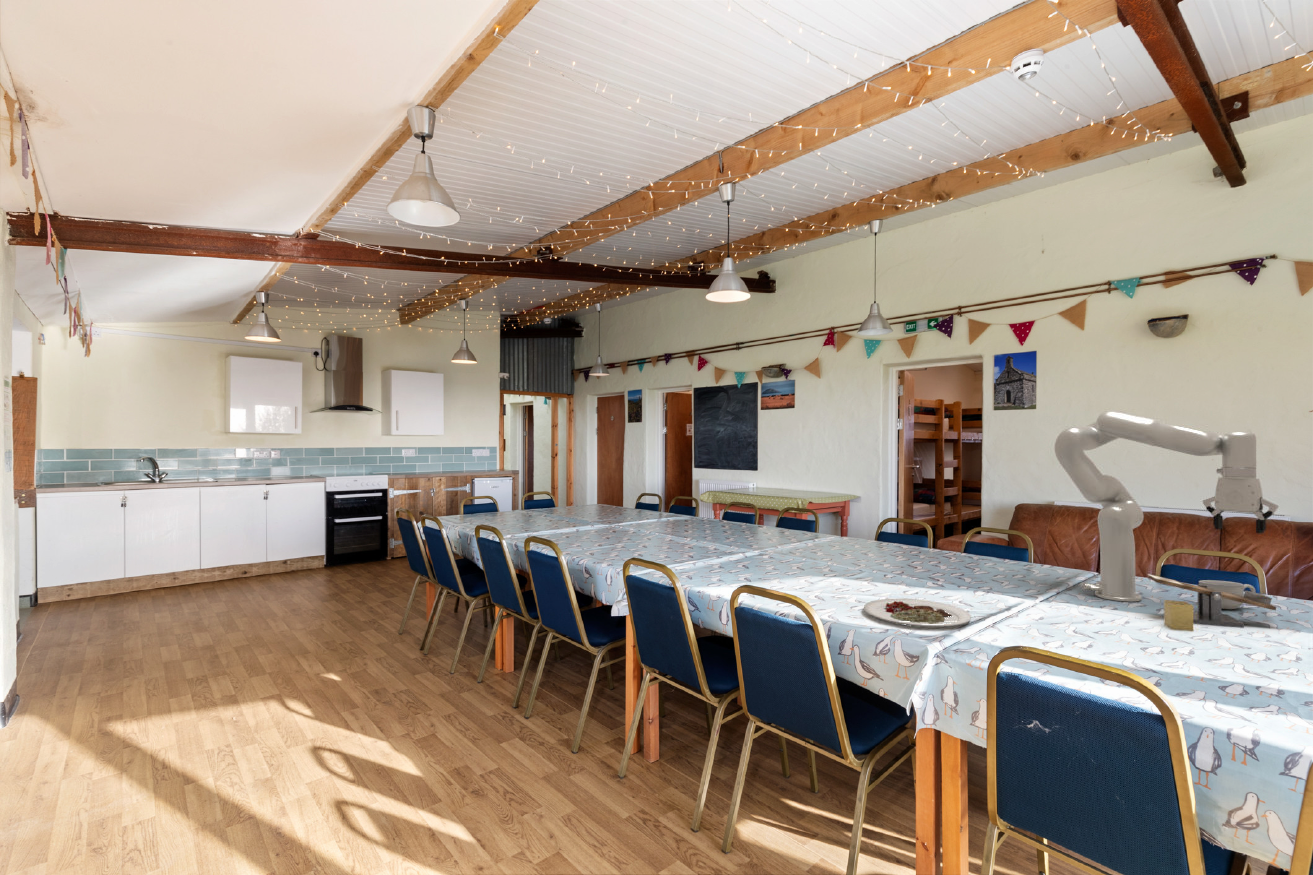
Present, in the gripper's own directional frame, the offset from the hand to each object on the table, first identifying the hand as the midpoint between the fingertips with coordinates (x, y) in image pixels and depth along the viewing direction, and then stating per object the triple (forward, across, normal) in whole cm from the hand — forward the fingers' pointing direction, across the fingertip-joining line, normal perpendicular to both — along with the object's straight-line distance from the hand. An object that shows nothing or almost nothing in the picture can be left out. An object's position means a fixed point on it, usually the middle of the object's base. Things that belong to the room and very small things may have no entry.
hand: (1239, 530), depth 191 cm
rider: (+26, -4, -28) cm, 38 cm away
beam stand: (+26, -2, -12) cm, 29 cm away
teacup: (+26, -7, +11) cm, 29 cm away
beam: (+18, -3, -12) cm, 22 cm away
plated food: (+27, -48, -82) cm, 99 cm away
